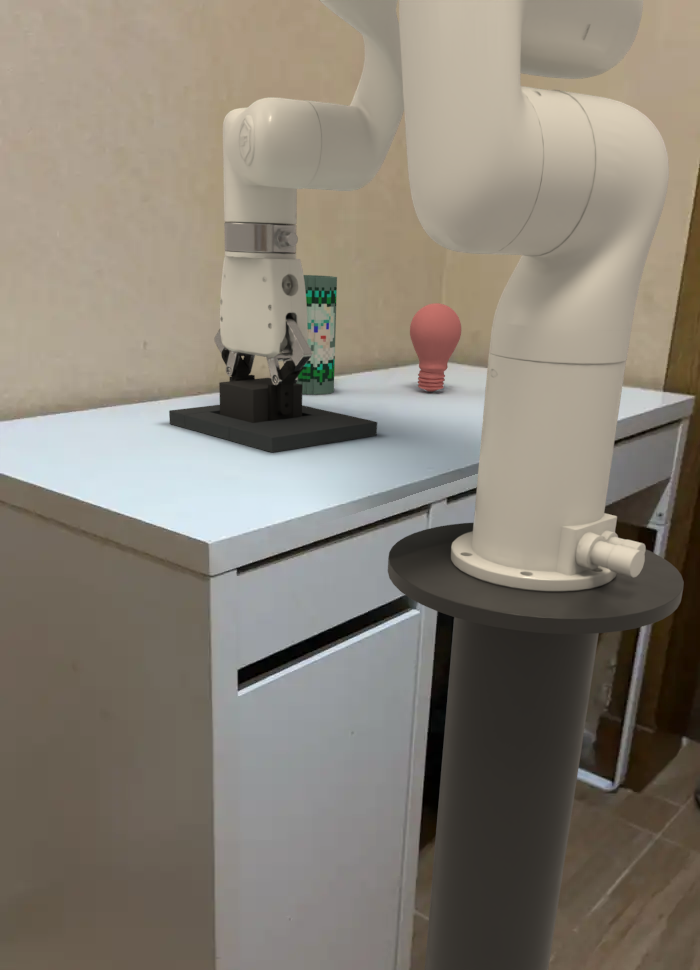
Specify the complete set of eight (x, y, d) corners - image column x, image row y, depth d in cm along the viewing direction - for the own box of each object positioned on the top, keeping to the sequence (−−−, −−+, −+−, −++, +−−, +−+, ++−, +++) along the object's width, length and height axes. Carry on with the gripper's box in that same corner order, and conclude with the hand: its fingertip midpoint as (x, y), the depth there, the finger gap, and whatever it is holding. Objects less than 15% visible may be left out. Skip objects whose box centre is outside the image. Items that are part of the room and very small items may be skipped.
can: (300, 395, 126) (302, 277, 121) (282, 388, 131) (283, 274, 126) (340, 393, 129) (343, 277, 123) (321, 386, 134) (323, 275, 128)
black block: (302, 420, 105) (302, 384, 104) (253, 427, 101) (253, 389, 99) (268, 412, 109) (268, 377, 108) (219, 418, 105) (219, 382, 103)
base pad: (376, 435, 103) (377, 421, 103) (272, 452, 93) (272, 437, 93) (272, 410, 115) (272, 398, 114) (169, 423, 105) (168, 410, 104)
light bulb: (451, 398, 129) (458, 306, 124) (401, 393, 130) (406, 303, 126) (460, 390, 135) (467, 303, 130) (412, 386, 137) (417, 300, 132)
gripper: (343, 246, 95) (338, 424, 102) (238, 241, 106) (240, 402, 113) (286, 244, 90) (285, 432, 97) (183, 239, 101) (188, 408, 108)
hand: (261, 414), depth 105 cm, fingers closed on black block, 6 cm apart
